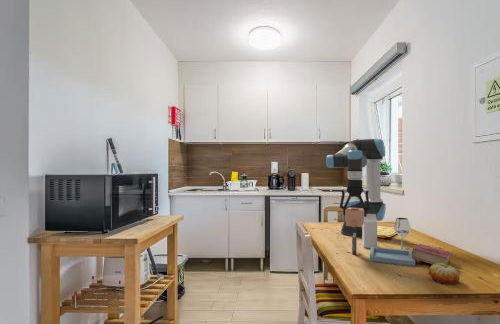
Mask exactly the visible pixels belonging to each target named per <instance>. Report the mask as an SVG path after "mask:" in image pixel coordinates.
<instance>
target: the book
mask: <svg viewBox="0 0 500 324" xmlns="http://www.w3.org/2000/svg"><path fill="white" fill-rule="evenodd" d="M411 251H412V254H411V255H412V258H413V259H415V261H416V260H417V261H420V262H424V263H427V264H430V265H433V264H436V263H443V264H446V265H448V266H450V264H451V260H450V257H451V255H452V253H453V252H452V251H450V250H449V251H448V250H445V249H441V248H437V247H434V246H430V245H426V244H423V243H418V244H416V246H413V248H412V250H411Z"/></svg>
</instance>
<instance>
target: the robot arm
mask: <svg viewBox="0 0 500 324" xmlns="http://www.w3.org/2000/svg"><path fill="white" fill-rule="evenodd" d="M385 157H386V145H385V143H384V140H382V139H381V138H368V139H367V138H366V139H365V138H364V139H356V140H355V139H354V140H351V141H350V142H348V143H346V144H345V145H344V146H343V148H341V150H339V151H338V152H336V153H335V154H328V155H326V158H325V164H326V167H327V168H328V169H329V168H332V169H347V179H348V180H347V188H346V189H342V190H341V198H340V203H339V208H340V209H342V210H343V211H342V214H343V223H342V226H341V230H340V231H341V232H340V234H341V235H344V236H350V237H352V236H353V233H356V236H357V237H362V227H352V226H346V210H347V208H363V223H364V217H366V216H367V214H376V218H377V222H381V221H383V220H384V219H385V214H386V209H387V206H386V205H387V204H386V203H384V200H383V199H382V198H381V162H382V161H383V160H384V159H383V158H385ZM365 167H366V172H365V173H366V190H365V189H363V180H362V179H363V168H365ZM346 193H348V197H347V199H346V200H345V196H346ZM362 193H363V194H364V195H365V199H363V197H362ZM353 197H354V198H358V199H351V198H353Z"/></svg>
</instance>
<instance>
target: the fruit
mask: <svg viewBox="0 0 500 324" xmlns="http://www.w3.org/2000/svg"><path fill="white" fill-rule="evenodd" d="M428 274H429V275H430V277H431V279H432V280H433V281H435V282H438V283H440V284H442V285H443V284H446V285H457V284H459V281H460V273H459V271H458V270H457V269H456V268H455V267H453V266H452V265H446V264H443V263H436V264H431V265H430V267H429V268H428Z"/></svg>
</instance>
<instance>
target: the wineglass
mask: <svg viewBox="0 0 500 324" xmlns="http://www.w3.org/2000/svg"><path fill="white" fill-rule="evenodd" d="M393 227H394V228H393V229H394V231H395V233H396V235H398V236H399V237H400V240H401V241H400V242H401V244H400V245H401V248H400V249H399V248H398V249H399V250H404V238H405V237H406V236H407V235H409V234H410V233H411V230H412V229H411V224H410V221H409V218H406V217H396V220H395V223H394V226H393Z"/></svg>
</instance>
